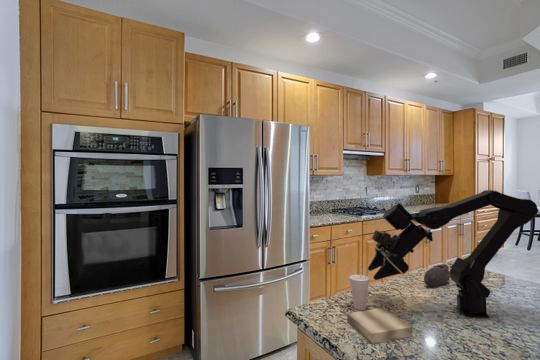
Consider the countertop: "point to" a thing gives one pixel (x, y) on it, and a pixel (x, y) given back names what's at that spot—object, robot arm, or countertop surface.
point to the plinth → (379, 325)
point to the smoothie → (359, 289)
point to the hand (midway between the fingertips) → (371, 274)
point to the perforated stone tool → (437, 275)
